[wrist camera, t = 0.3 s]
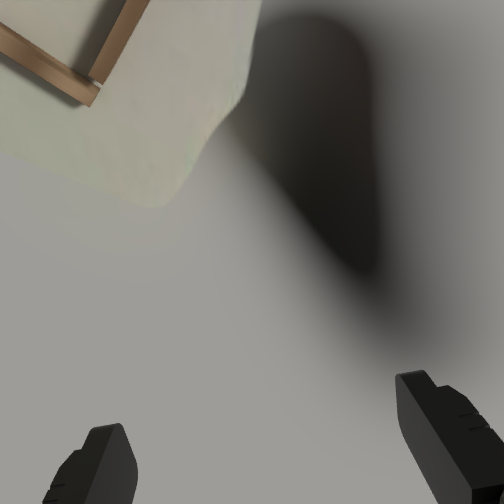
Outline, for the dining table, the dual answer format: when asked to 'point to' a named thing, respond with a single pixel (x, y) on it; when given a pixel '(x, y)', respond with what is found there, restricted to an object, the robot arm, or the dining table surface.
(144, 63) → the dining table surface
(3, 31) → the wooden l-shaped sticks
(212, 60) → the dining table surface
